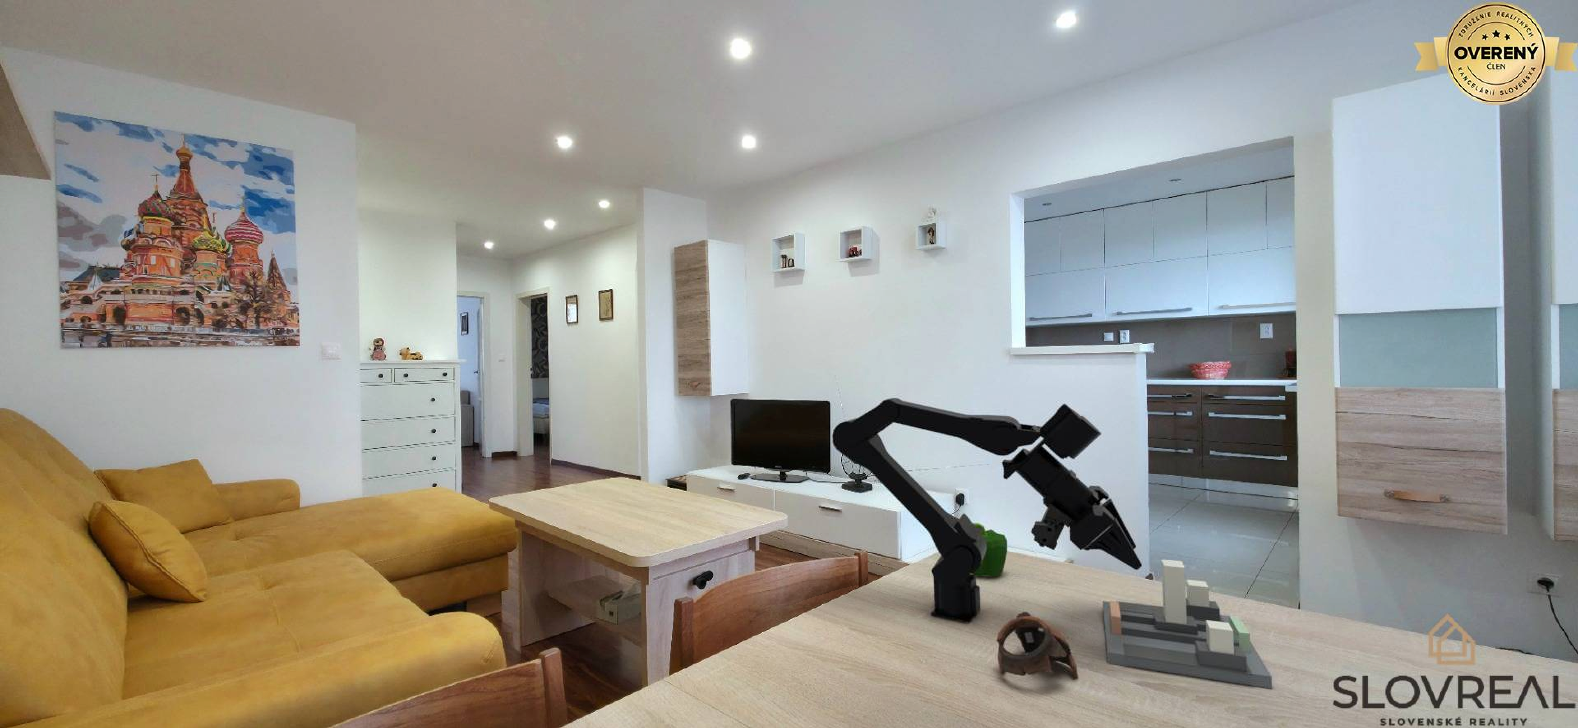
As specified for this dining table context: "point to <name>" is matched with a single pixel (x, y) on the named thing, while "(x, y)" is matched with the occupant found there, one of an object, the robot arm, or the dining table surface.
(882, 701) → the dining table surface
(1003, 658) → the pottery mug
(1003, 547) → the bell pepper
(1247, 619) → the dining table surface
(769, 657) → the dining table surface
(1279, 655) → the dining table surface
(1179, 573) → the breaker handle
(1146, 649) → the board
